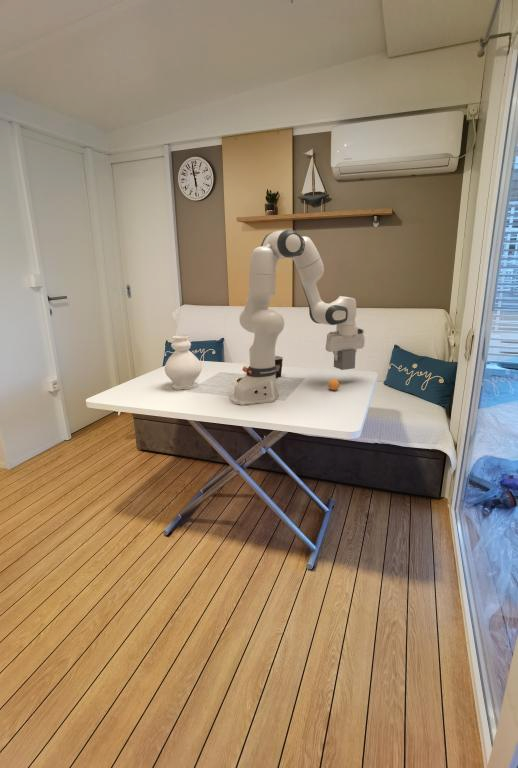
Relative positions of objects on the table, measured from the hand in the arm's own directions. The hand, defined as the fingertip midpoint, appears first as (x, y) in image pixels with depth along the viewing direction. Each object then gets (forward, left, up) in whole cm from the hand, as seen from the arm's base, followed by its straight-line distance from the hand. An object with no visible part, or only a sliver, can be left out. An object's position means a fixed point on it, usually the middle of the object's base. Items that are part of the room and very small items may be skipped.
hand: (344, 359), depth 197 cm
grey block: (0, 0, -4) cm, 4 cm away
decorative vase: (-70, +35, -12) cm, 80 cm away
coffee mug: (-25, +28, -12) cm, 40 cm away
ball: (-11, -8, -9) cm, 17 cm away
